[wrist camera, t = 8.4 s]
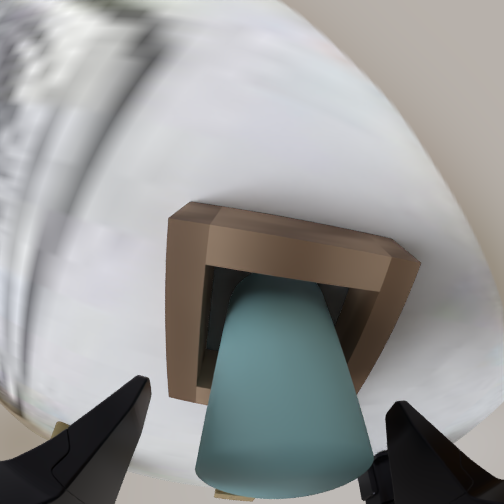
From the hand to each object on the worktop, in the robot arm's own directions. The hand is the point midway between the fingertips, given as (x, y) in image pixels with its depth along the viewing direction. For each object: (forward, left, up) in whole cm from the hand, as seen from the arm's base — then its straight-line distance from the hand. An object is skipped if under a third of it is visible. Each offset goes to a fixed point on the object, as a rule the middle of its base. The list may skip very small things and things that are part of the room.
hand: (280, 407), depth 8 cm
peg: (0, 0, -6) cm, 6 cm away
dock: (0, +2, -6) cm, 7 cm away
